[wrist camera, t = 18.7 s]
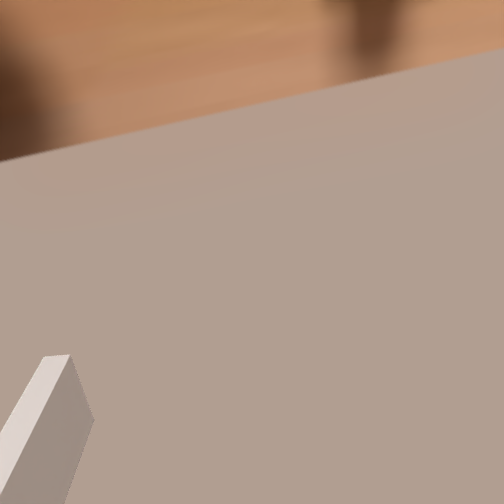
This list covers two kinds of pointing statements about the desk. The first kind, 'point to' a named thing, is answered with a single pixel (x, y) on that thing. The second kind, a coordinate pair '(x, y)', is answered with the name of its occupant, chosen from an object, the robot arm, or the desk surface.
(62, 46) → the desk surface
